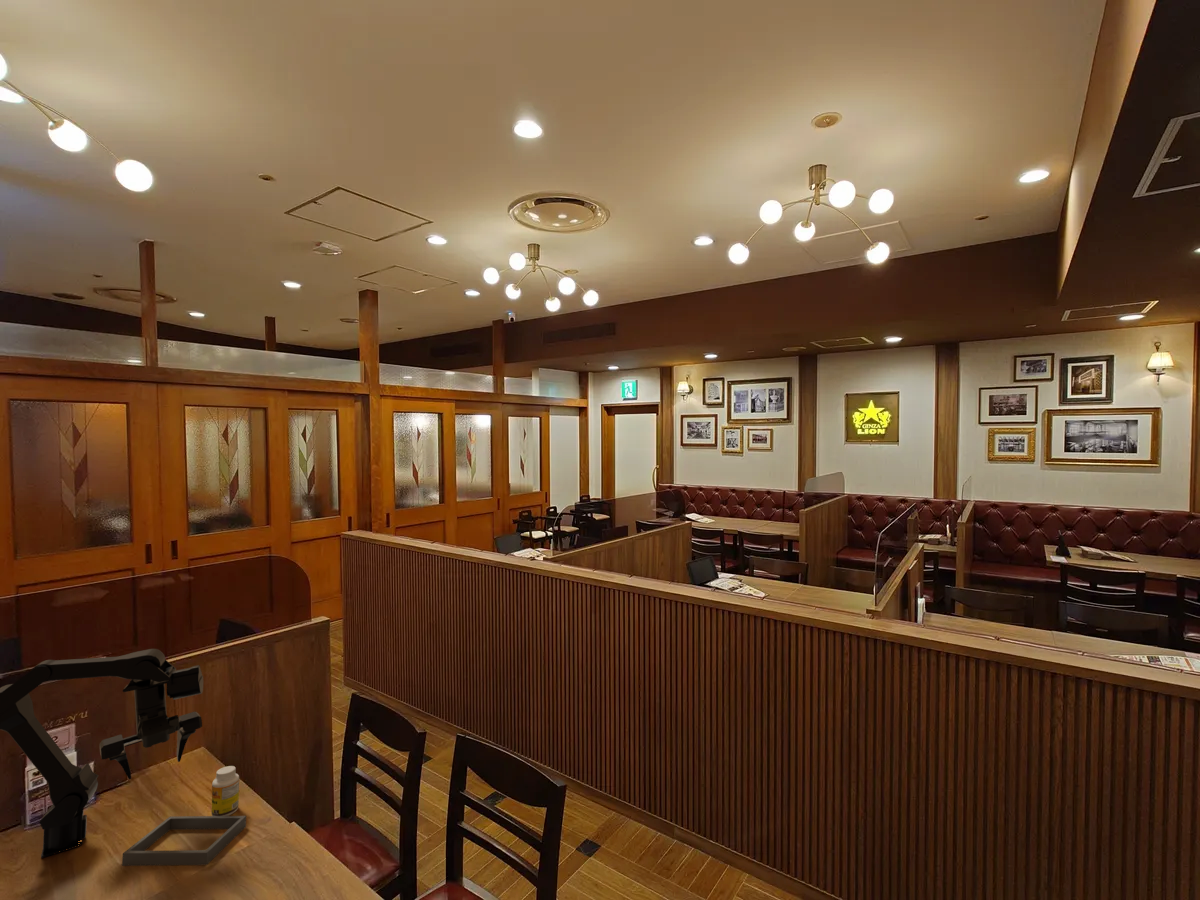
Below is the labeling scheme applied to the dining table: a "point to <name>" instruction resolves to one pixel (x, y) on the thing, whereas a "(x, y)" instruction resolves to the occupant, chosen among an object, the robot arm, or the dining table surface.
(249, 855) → the dining table surface
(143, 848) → the gray open frame
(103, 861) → the dining table surface
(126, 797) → the dining table surface
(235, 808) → the supplement bottle
